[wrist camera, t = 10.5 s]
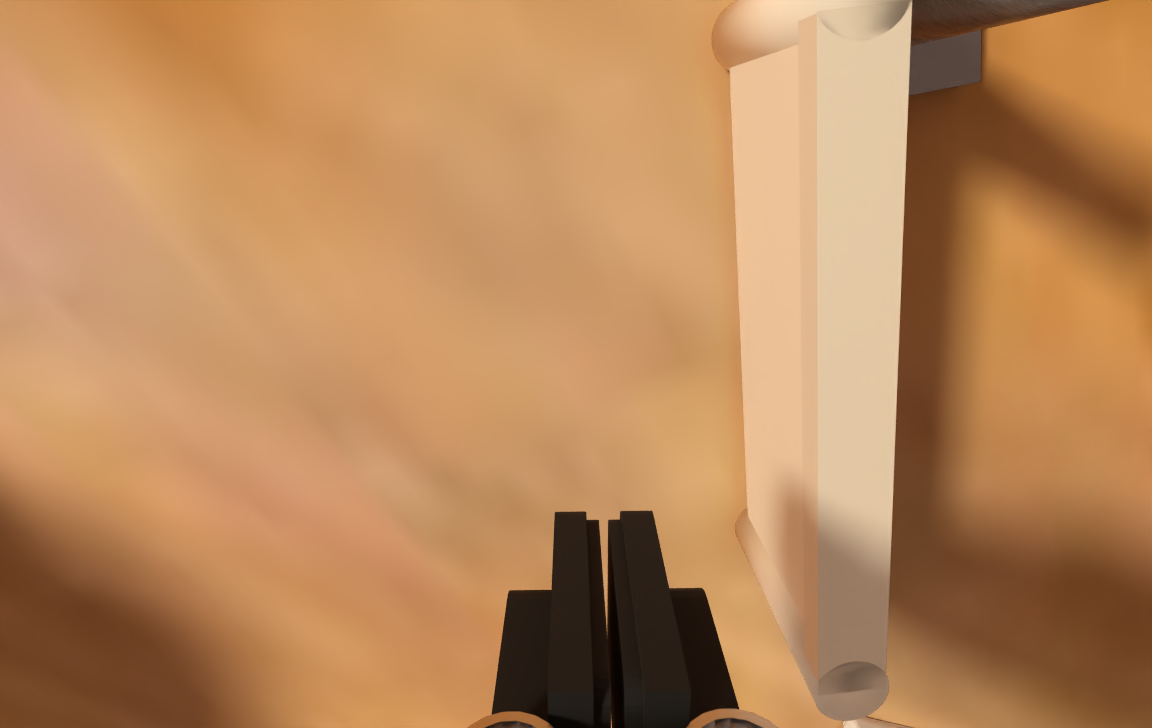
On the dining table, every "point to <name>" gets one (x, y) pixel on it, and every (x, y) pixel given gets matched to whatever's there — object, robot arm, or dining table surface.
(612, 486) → the dining table surface
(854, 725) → the syrup box
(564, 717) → the robot arm
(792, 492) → the gate leaf
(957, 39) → the gate post
